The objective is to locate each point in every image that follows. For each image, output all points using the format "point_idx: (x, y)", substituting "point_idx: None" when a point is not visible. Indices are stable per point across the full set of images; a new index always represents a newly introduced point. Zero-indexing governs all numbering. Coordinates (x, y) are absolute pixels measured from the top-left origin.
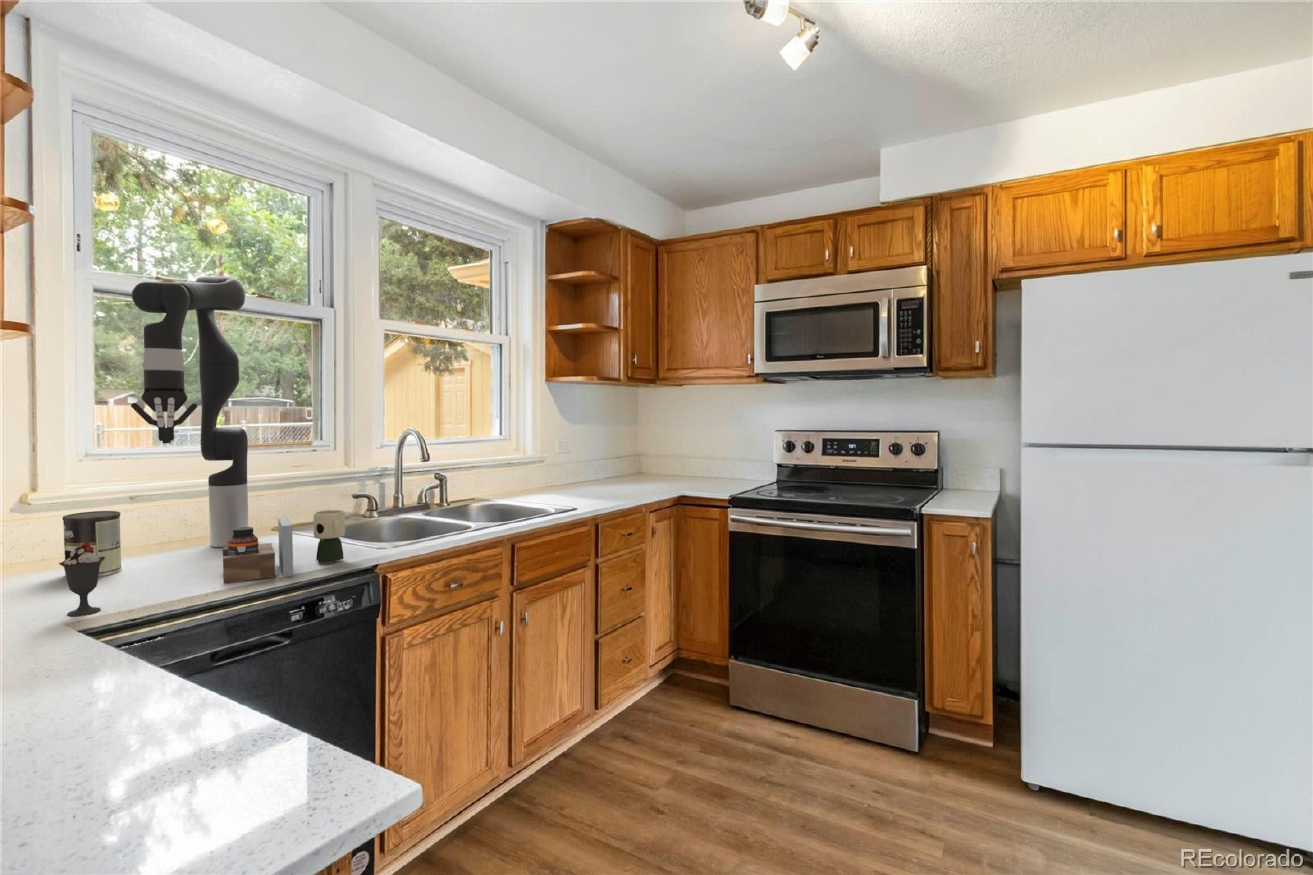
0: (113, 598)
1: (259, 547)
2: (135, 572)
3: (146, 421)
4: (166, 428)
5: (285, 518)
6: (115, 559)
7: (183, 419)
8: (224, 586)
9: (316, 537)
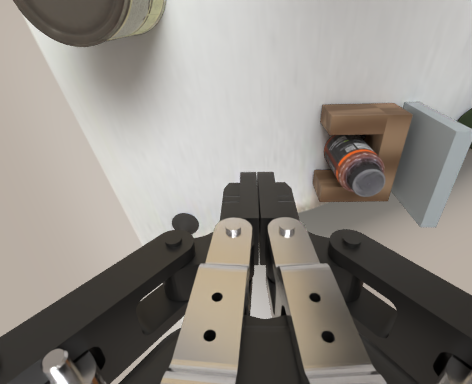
0: (199, 183)
1: (383, 146)
2: (194, 25)
3: (158, 297)
4: (262, 259)
5: (462, 151)
6: (156, 11)
7: (368, 309)
8: (312, 191)
9: None
